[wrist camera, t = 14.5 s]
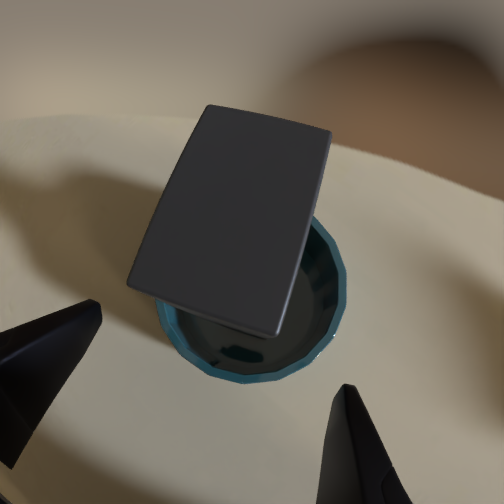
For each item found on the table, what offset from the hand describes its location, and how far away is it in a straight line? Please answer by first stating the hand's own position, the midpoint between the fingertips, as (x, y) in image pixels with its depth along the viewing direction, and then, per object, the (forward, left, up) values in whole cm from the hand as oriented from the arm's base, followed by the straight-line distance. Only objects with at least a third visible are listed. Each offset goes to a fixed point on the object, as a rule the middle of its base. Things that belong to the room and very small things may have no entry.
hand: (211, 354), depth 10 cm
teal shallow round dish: (+3, +1, -10) cm, 10 cm away
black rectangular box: (+3, +1, -9) cm, 10 cm away
